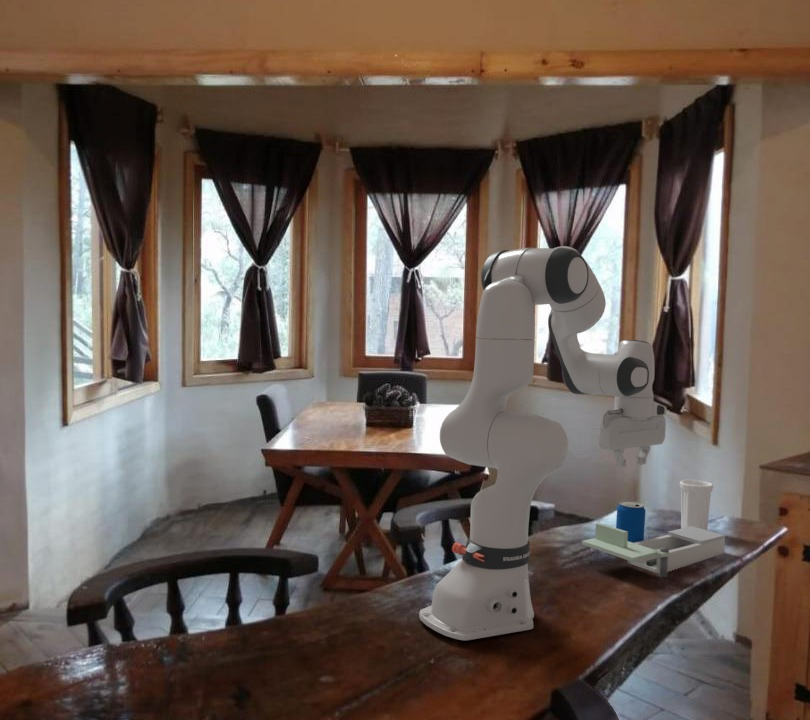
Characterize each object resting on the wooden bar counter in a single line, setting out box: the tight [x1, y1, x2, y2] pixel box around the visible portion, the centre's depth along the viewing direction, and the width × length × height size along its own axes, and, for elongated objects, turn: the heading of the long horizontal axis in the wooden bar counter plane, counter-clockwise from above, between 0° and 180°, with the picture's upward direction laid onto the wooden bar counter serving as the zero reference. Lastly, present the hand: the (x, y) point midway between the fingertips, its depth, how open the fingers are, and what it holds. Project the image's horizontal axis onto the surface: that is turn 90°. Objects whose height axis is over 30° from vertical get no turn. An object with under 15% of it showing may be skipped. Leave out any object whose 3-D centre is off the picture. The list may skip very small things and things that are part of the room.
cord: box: [646, 558, 657, 566], centre depth 173 cm, size 23×1×1 cm, turn 125°
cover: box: [581, 522, 670, 562], centre depth 164 cm, size 16×11×4 cm
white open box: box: [627, 526, 726, 578], centre depth 172 cm, size 25×11×5 cm, turn 125°
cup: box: [679, 479, 714, 530], centre depth 192 cm, size 8×8×14 cm
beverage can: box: [615, 500, 646, 543], centre depth 177 cm, size 6×6×12 cm
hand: (631, 465), depth 178 cm, fingers open, 6 cm apart
